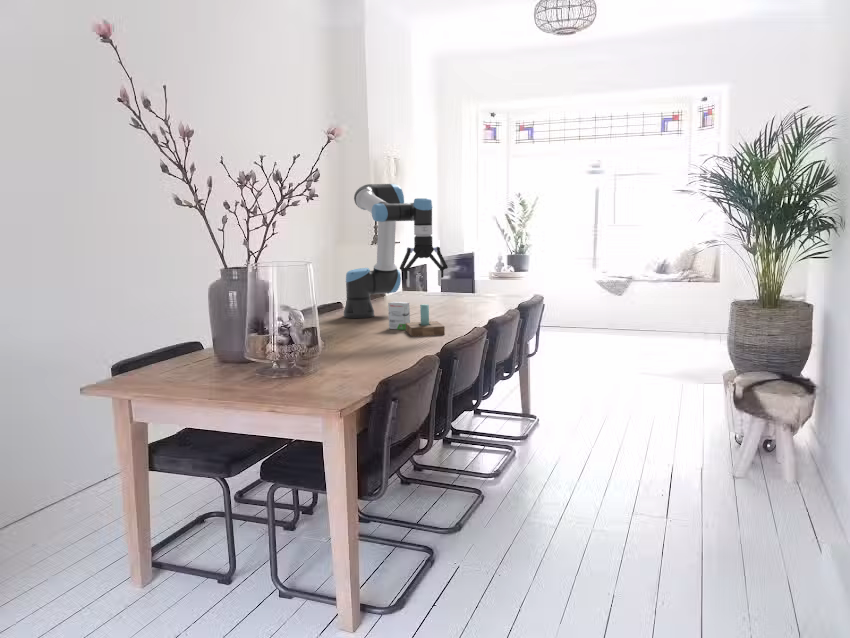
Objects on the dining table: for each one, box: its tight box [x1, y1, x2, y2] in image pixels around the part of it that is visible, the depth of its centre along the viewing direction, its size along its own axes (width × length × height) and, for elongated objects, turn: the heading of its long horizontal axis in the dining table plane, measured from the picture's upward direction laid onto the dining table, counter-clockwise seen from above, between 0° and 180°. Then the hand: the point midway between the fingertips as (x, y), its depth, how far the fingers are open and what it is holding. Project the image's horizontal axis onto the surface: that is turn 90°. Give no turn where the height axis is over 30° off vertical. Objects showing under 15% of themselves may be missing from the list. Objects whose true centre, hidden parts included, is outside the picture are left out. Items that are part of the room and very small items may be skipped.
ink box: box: [387, 301, 411, 331], centre depth 311 cm, size 9×5×12 cm, turn 60°
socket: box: [405, 320, 446, 337], centre depth 301 cm, size 14×14×4 cm
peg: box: [419, 303, 430, 326], centre depth 300 cm, size 4×4×12 cm
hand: (423, 286), depth 298 cm, fingers open, 13 cm apart
